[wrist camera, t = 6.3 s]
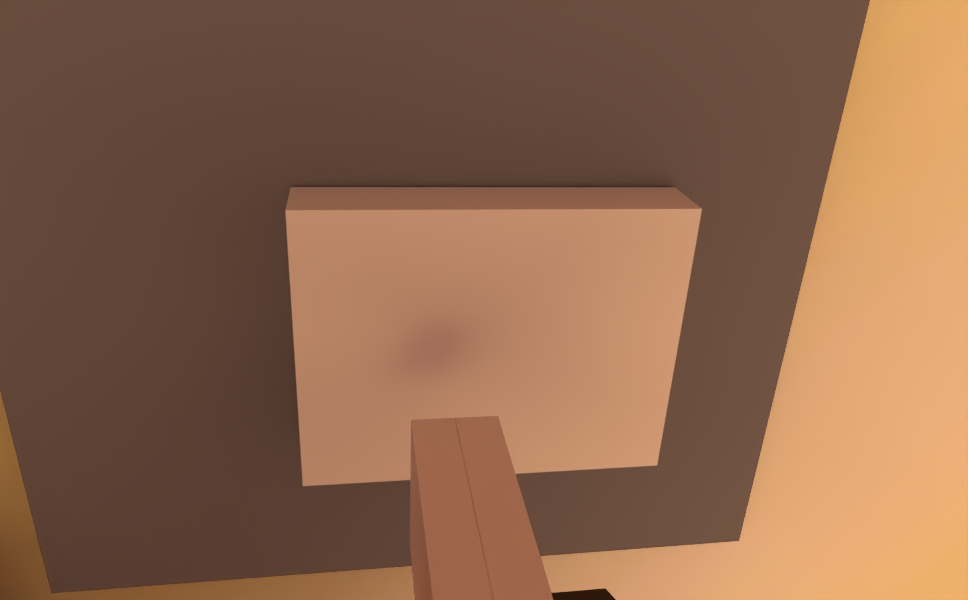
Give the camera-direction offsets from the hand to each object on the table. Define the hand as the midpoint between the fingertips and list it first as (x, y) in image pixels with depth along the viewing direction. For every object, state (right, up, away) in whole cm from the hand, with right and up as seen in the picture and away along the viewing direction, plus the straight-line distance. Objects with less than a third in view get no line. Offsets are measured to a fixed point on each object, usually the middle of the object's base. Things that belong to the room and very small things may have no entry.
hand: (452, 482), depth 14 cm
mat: (-1, +3, +6) cm, 7 cm away
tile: (-4, +2, +4) cm, 6 cm away
